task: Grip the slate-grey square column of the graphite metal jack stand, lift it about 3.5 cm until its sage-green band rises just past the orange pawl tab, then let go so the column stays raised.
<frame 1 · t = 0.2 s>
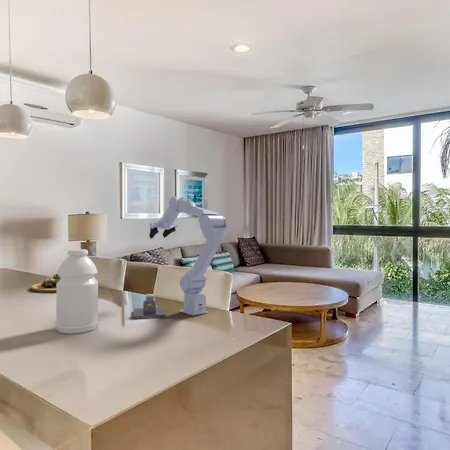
hand: (157, 236, 176), 31 cm above the table, fingers open, 7 cm apart
stand base: (149, 314, 152), on the table
wooden plate with food: (61, 289, 212), on the table
column: (149, 303, 152), point 5 cm above the table, slide at 0.0 cm
bottle: (77, 329, 130), on the table
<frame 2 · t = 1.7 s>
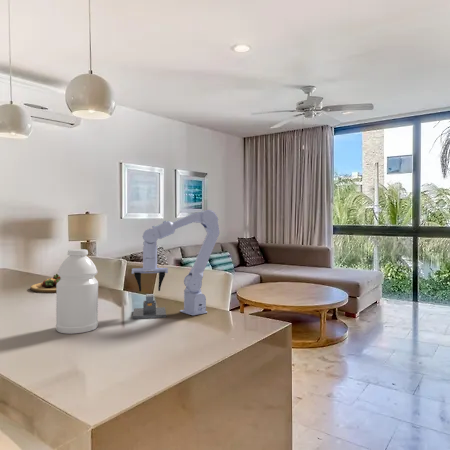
hand: (149, 290, 152), 10 cm above the table, fingers open, 7 cm apart
nothing on the table moved.
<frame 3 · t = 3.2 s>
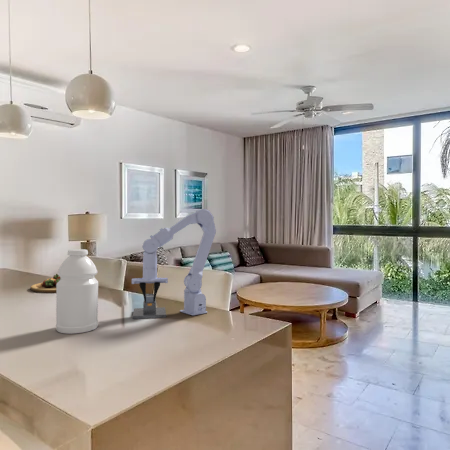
hand: (149, 300, 152), 6 cm above the table, fingers closed on column, 3 cm apart
column: (149, 303, 152), point 5 cm above the table, slide at 0.0 cm, touching gripper
everything else where it was.
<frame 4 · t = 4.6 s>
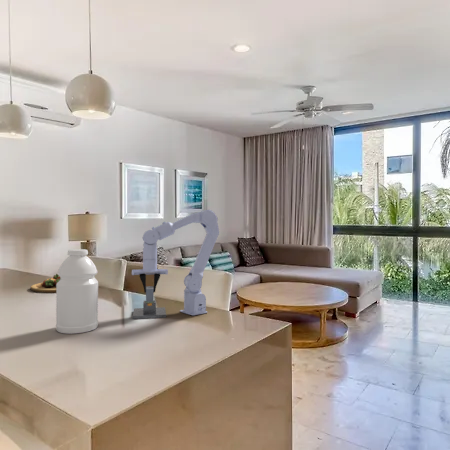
hand: (149, 292, 152), 9 cm above the table, fingers closed on column, 3 cm apart
column: (149, 295, 152), point 8 cm above the table, slide at 3.2 cm, touching gripper
everything else where it was.
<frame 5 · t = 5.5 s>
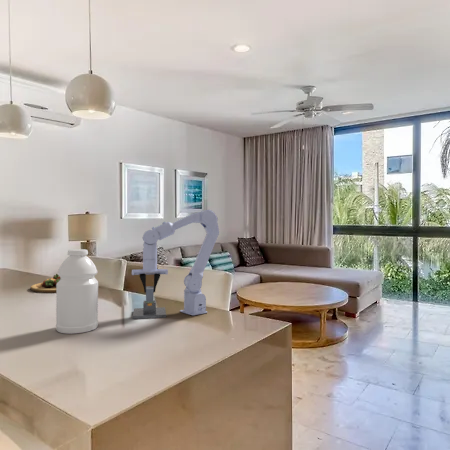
hand: (149, 292, 152), 9 cm above the table, fingers closed on column, 3 cm apart
column: (149, 295, 152), point 8 cm above the table, slide at 3.2 cm, touching gripper
everything else where it was.
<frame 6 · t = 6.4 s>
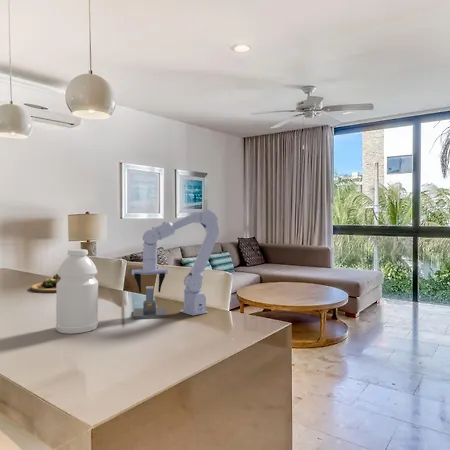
hand: (149, 292, 152), 9 cm above the table, fingers open, 7 cm apart
column: (149, 295, 152), point 8 cm above the table, slide at 3.2 cm
everything else where it was.
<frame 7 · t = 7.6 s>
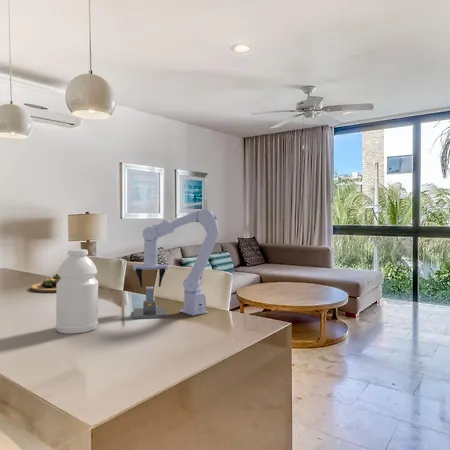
hand: (150, 286, 158), 10 cm above the table, fingers open, 7 cm apart
nothing on the table moved.
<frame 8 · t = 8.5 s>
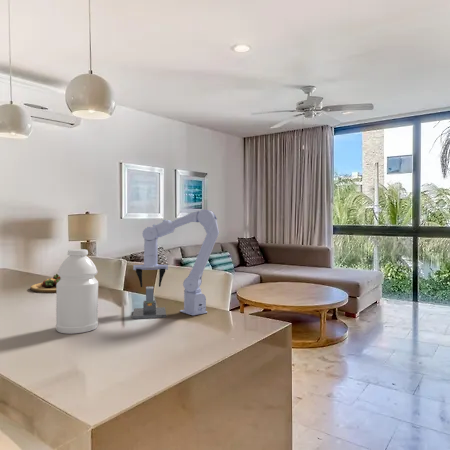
hand: (150, 286, 158), 10 cm above the table, fingers open, 7 cm apart
nothing on the table moved.
at the end: column slide at 3.2 cm; the gripper is holding nothing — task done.
